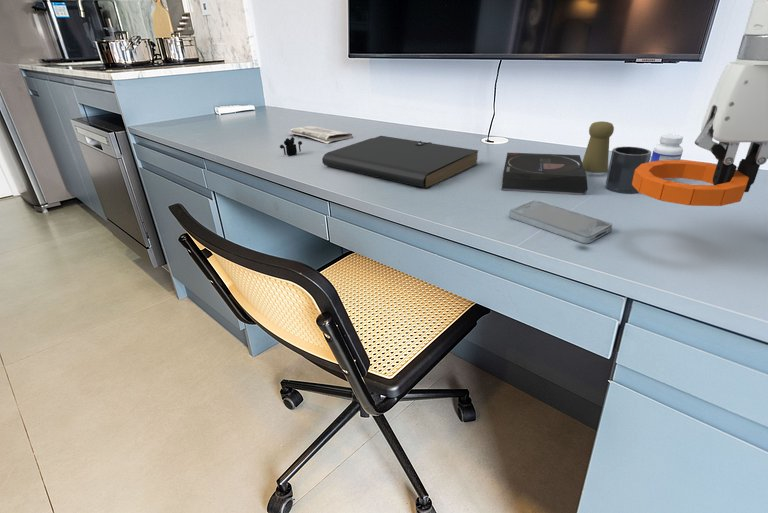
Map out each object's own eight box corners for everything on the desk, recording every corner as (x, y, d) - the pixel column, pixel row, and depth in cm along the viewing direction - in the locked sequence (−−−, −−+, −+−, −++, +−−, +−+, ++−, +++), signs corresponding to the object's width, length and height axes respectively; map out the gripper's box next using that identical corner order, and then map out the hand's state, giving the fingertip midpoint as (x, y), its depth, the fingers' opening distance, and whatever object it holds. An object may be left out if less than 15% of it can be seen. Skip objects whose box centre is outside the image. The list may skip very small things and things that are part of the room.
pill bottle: (645, 175, 100) (656, 132, 95) (673, 177, 97) (685, 133, 93) (646, 182, 95) (657, 137, 91) (675, 185, 93) (688, 139, 88)
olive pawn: (594, 173, 102) (603, 125, 97) (575, 167, 107) (582, 121, 102) (613, 169, 104) (623, 122, 99) (593, 163, 109) (601, 118, 104)
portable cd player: (586, 195, 90) (590, 176, 88) (501, 190, 95) (503, 172, 93) (579, 171, 104) (582, 155, 102) (505, 168, 109) (507, 152, 107)
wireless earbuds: (282, 157, 127) (279, 140, 124) (278, 156, 129) (276, 138, 126) (304, 153, 130) (301, 136, 128) (300, 151, 132) (298, 135, 130)
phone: (586, 245, 70) (588, 237, 70) (506, 216, 82) (507, 210, 81) (612, 230, 74) (614, 224, 74) (533, 205, 86) (534, 199, 85)
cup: (636, 183, 95) (645, 146, 91) (646, 194, 89) (656, 155, 85) (601, 182, 97) (609, 146, 93) (609, 193, 91) (617, 155, 87)
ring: (715, 174, 69) (720, 159, 68) (763, 206, 57) (769, 189, 56) (622, 174, 72) (625, 160, 71) (649, 205, 60) (653, 188, 59)
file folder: (479, 148, 110) (423, 174, 95) (478, 164, 112) (423, 192, 97) (381, 134, 130) (321, 153, 114) (382, 147, 132) (323, 168, 116)
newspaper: (286, 135, 154) (285, 127, 153) (315, 132, 162) (314, 125, 161) (324, 144, 139) (323, 136, 138) (353, 140, 146) (353, 133, 145)
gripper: (830, 44, 56) (778, 181, 65) (693, 51, 60) (661, 180, 68) (874, 48, 50) (810, 199, 59) (718, 55, 53) (679, 197, 62)
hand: (730, 188), depth 63 cm, fingers closed on ring, 2 cm apart
